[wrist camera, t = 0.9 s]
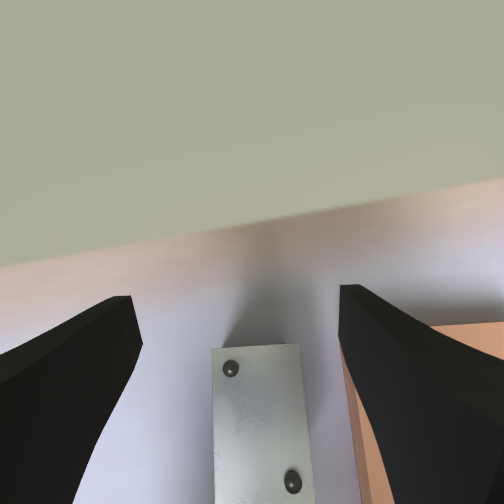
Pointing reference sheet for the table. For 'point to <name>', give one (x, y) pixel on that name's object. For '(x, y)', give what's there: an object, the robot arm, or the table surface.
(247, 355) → the block
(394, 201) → the table surface
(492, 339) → the stand
